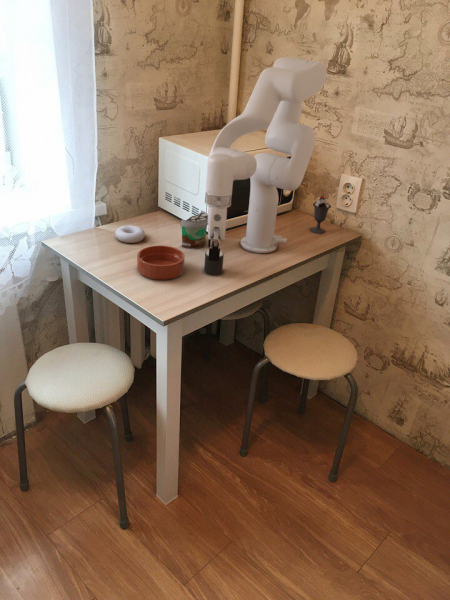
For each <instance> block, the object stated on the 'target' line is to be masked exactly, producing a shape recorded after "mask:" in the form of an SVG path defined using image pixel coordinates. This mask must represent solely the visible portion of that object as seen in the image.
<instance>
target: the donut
mask: <svg viewBox="0 0 450 600" xmlns="http://www.w3.org/2000/svg"><path fill="white" fill-rule="evenodd" d="M114 233H115V234H114V236H115V238H116V240H118V241H119V242H122V243H125V244H126V243H127V244H135V243H139V242H141V241H143V239H144V238H145V237H146V231H145V230H144V229H143V228H142V227H141V226H138V225H132V224H127V225H122V226H120V227H119V226H118V228H116V230H115V232H114Z"/></svg>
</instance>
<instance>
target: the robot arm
mask: <svg viewBox="0 0 450 600" xmlns="http://www.w3.org/2000/svg"><path fill="white" fill-rule="evenodd" d="M327 78H328V70H327V67H326V65H325V64H324V63H322V62H321V61H316V60H310V59H303V58H297V57H289V56H283V57H279V58H277V59H276V60H275V61H274V63H273V65H272V66H271V67H266V68H265V69H263V70H262V71H261V73H260V74H259V77H258V78H257V80H256V83H255V84H254V88H253V89H252V92H251V94H250V97H249V99H248V101H247V103H246V106H245V107H244V110H243V111H242V113H241V114H239V115H238V116H236V117H235V118H233V119H232V120H230V121H229V122H228V123H226V125H224V126H223V127H222V128H221V130H220V131H219V132H218V134H217V136H216V138H215V140H214V142H213V145H212V146H211V149H210V152H209V155H208V159H207V168H206V181H205V195H204V204H205V206H208V209H207V210H208V211H207V214H208V225H207V236H208V237H207V238H208V241H207V248H208V251H209V257H208V260H209V261H219V257H220V251H221V241H223V242H224V241H225V240H226V231H227V219H228V217H227V216H228V208H230V207H231V206H232V196H233V185H234V181H244V180H248V179H250V190H249V191H250V192H249V203H248V210H247V220H246V231H245V236H244V237H243V238H241V239H240V243H239V244H240V246H241V248H243V249H244V250H246V251H248V252H251V253H256V254H269V253H273V252H274V251H277V248H278V244H280V245H287V244H288V238H286V237H283V235H276V234H275V229H276V222H277V214H278V207H279V200H280V199H279V192H278V189H280V190H285V191H289V192H293V191H296V190H297V189H298V188H299V187H300V186H301V184H302V182H303V180H304V178H305V174H306V171H307V168H308V166H309V163H310V160H311V158H312V156H313V155H312V154H313V152H314V148H315V145H316V132H315V130H314V128H312V126H309V125H307V124H303V123H299V121H300V118H301V116H302V112H303V103H302V102H304V101H306V100H308V99H310V98H311V97H313V96H315V95H316V94H318V93H319V92H320V91H321V90H322V89H323V87H324V86H325V84H326V81H327V80H328V79H327ZM262 130H266V133H265V136H264V144H265V146H266V147H267V148H268V149H270V150H272V151H275V152H277V153H283V154H286V155H291V156H290V158H289V157H285V156H282V155H278V154H273V153H270V152H260V153H259V152H258V153H257V154H255V155H252V154H251V153H248V152H245V151H242V150H239V149H235V148H231V146H233V143H234V142H236V141H237V140H238V139H239V138H241V137H243V136H245V135H248V134H252V133H254V132H258V131H259V132H260V131H262Z"/></svg>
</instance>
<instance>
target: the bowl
mask: <svg viewBox="0 0 450 600" xmlns="http://www.w3.org/2000/svg"><path fill="white" fill-rule="evenodd" d="M136 264H137V265H136V266H137V268H136V269H137V272H139V274H140V275H142V276H144V277H146V278H148V279H152V280H157V281H167V280H173V279H175V278H178V277H179V276H181V275H182V274H183V273H184V271H185V253H184V252H183V251H182V250H181V249H179V248H177V247H174V246H170V245H161V244H160V245H150V246H146V247H143V248H141V249H139V251H138V252H137V255H136Z"/></svg>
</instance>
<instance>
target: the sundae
mask: <svg viewBox="0 0 450 600" xmlns="http://www.w3.org/2000/svg"><path fill="white" fill-rule="evenodd" d="M321 192H322V195H320V198H318V200H317V201H315V202H313V203H312V207H314V208H313V209H314V213H313V215H314V216H313V217H314V220H315V221H316V227H311V229H310V230H311V232H312V233H315V234H323V233H324V232H325V230H324V229H323V228H321V223H323V222H324V221H325V220H326V218H327V217H328V216H327V215H328V213H329V210H330V209H331V208H332V205H331V204H330V203H328V201H327V199H326V198H325V193H324V190H321Z"/></svg>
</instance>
